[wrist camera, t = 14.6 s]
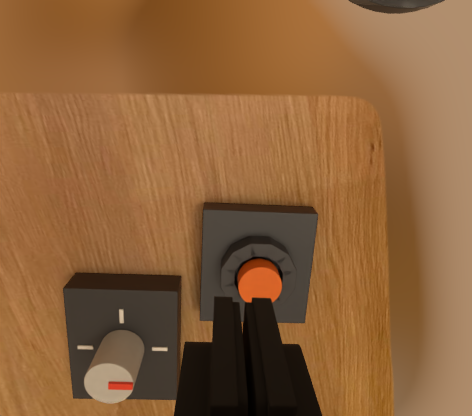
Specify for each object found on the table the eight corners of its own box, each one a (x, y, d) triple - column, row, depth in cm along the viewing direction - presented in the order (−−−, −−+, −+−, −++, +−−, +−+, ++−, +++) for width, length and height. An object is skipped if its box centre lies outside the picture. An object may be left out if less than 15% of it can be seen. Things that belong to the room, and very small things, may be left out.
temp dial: (102, 365, 35) (83, 406, 30) (100, 328, 33) (80, 365, 29) (144, 366, 35) (133, 407, 30) (144, 329, 34) (132, 366, 29)
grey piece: (204, 202, 33) (201, 215, 30) (312, 206, 34) (324, 220, 30) (201, 308, 37) (198, 332, 33) (300, 310, 37) (309, 335, 33)
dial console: (75, 272, 35) (62, 289, 32) (181, 275, 36) (177, 292, 33) (84, 376, 39) (72, 399, 35) (180, 377, 39) (176, 401, 36)
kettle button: (238, 257, 31) (239, 266, 30) (280, 258, 31) (284, 268, 30) (236, 295, 32) (237, 305, 31) (277, 296, 32) (280, 307, 31)
